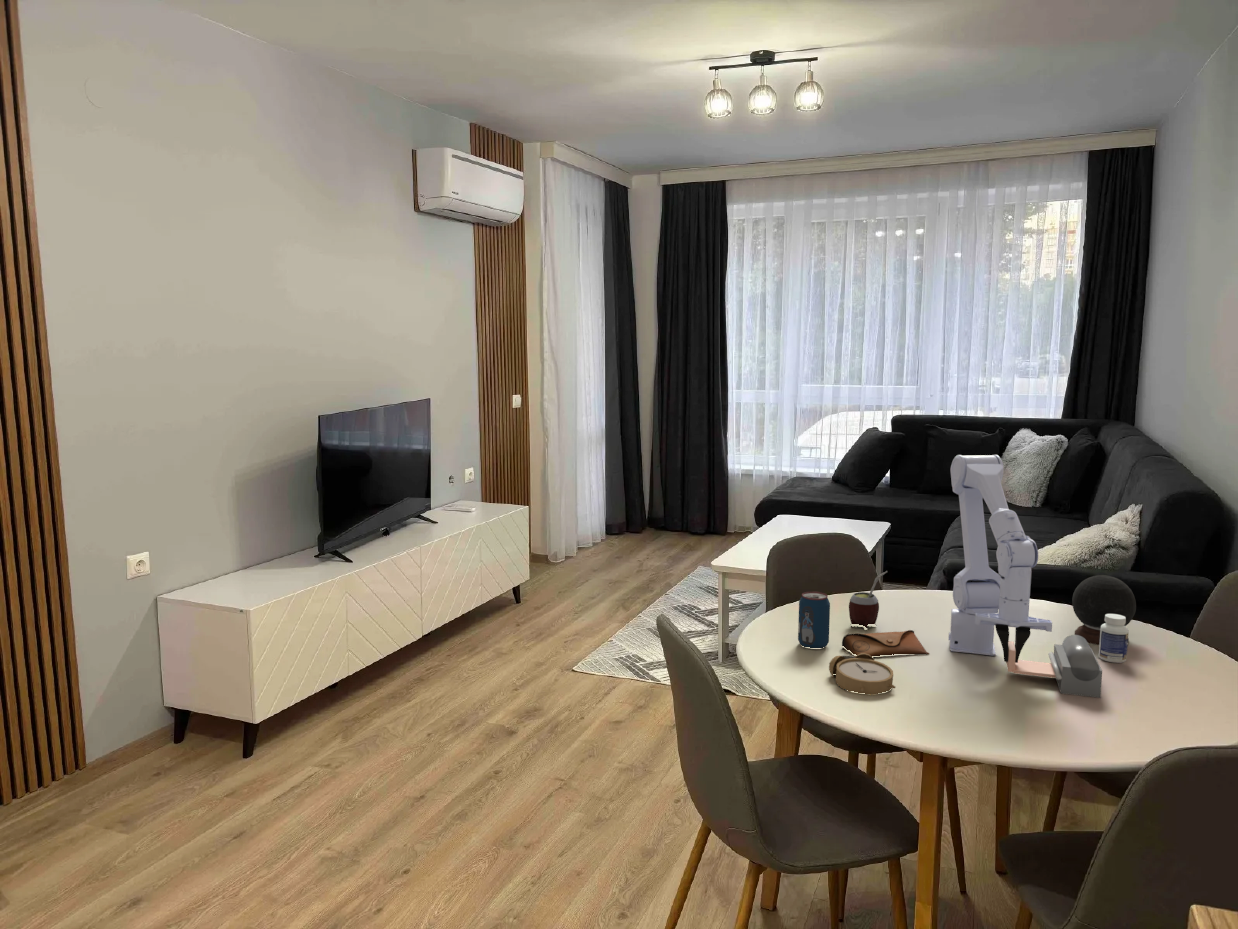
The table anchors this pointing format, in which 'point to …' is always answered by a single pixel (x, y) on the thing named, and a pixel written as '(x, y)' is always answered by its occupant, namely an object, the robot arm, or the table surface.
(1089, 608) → the black ball on stand
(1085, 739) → the table surface
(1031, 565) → the robot arm
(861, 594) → the mate gourd
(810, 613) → the soda can
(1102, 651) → the pill bottle
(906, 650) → the sunglasses case
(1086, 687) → the dispenser
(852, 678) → the alarm clock
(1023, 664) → the pink l-shaped bracket
